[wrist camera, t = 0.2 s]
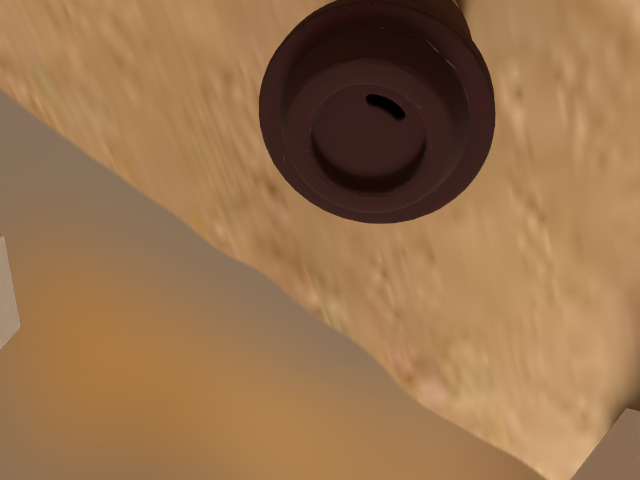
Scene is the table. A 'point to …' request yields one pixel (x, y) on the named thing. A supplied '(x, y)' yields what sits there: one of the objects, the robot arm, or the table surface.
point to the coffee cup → (379, 108)
